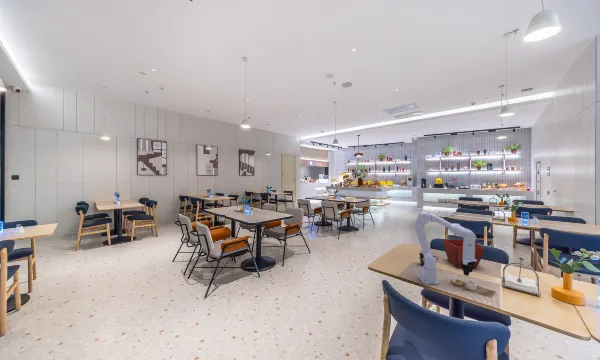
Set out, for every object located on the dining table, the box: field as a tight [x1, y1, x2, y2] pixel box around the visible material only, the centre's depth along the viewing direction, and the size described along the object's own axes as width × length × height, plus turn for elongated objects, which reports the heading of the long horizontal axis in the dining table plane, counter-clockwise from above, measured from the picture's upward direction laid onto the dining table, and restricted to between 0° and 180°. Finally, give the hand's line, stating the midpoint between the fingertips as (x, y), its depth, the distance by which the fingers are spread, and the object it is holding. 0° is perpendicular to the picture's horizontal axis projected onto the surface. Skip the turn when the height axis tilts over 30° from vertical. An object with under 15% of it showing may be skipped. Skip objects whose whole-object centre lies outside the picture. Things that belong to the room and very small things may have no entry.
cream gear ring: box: [465, 280, 478, 290], centre depth 138 cm, size 5×5×3 cm
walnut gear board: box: [447, 278, 497, 299], centre depth 138 cm, size 21×11×4 cm, turn 42°
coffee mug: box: [419, 250, 439, 267], centre depth 173 cm, size 12×9×10 cm
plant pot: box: [442, 238, 485, 270], centre depth 175 cm, size 19×19×17 cm
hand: (468, 273), depth 140 cm, fingers open, 7 cm apart
